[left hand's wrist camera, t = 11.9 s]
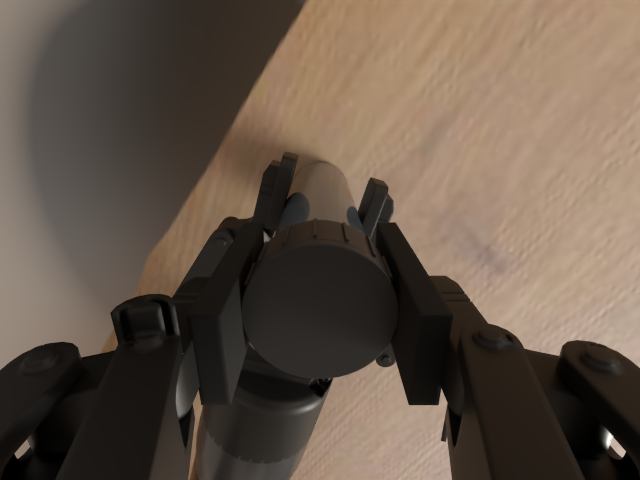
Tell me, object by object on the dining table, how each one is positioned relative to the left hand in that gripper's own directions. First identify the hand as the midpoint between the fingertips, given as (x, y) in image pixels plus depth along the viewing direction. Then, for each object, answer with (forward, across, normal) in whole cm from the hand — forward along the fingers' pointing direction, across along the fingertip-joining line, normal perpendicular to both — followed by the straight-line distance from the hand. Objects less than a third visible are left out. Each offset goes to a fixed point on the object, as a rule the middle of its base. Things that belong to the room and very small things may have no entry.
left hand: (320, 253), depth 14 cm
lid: (-4, 0, 0) cm, 4 cm away
